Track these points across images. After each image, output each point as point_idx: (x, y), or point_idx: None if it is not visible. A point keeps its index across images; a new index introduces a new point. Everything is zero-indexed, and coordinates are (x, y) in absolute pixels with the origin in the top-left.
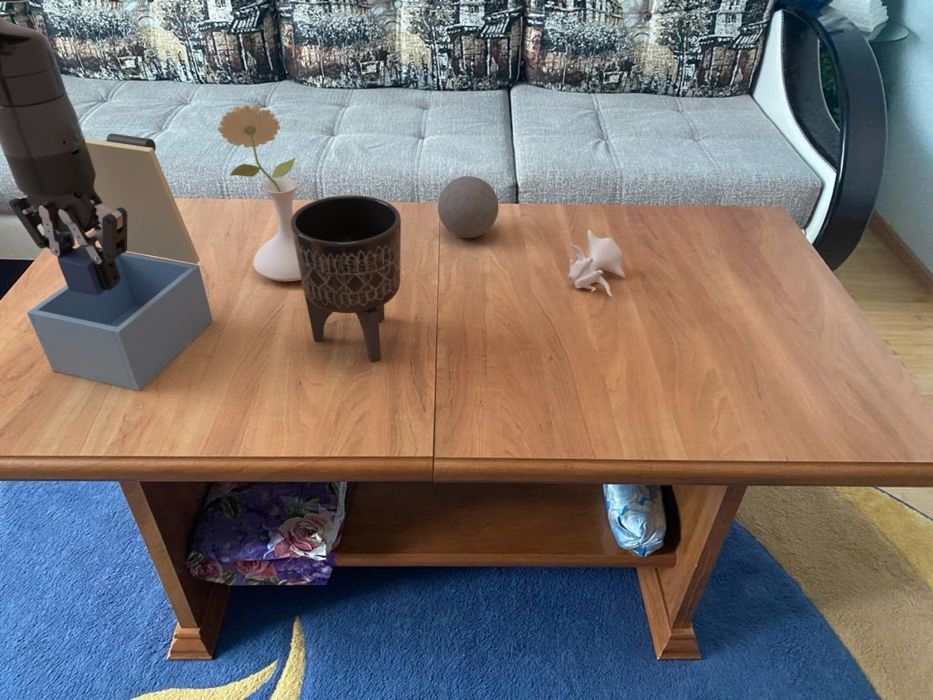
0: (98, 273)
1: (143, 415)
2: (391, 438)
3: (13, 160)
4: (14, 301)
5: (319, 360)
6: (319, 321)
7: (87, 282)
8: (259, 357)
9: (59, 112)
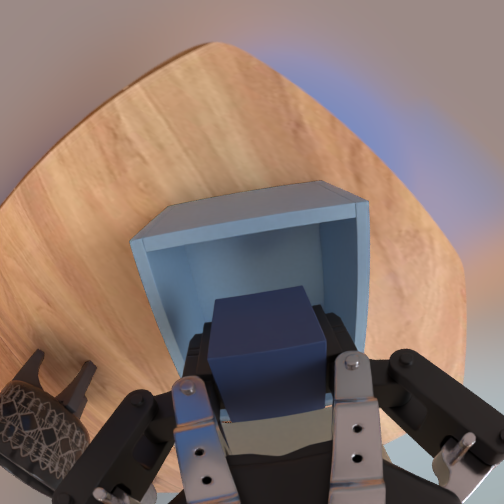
0: (207, 351)
1: (125, 174)
2: None
3: None
4: (458, 267)
5: (64, 338)
6: (75, 379)
7: (230, 317)
8: (106, 323)
9: None
